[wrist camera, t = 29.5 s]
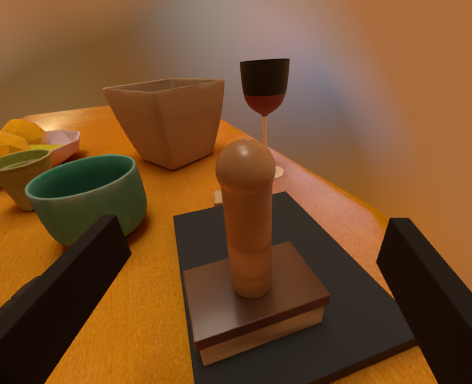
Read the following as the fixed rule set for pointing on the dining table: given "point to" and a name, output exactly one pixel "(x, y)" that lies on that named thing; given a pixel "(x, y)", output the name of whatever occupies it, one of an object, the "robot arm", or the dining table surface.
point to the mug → (88, 195)
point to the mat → (311, 338)
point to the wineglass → (265, 88)
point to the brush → (250, 267)
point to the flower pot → (169, 118)
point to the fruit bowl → (38, 140)
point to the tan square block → (218, 198)
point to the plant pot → (22, 173)
